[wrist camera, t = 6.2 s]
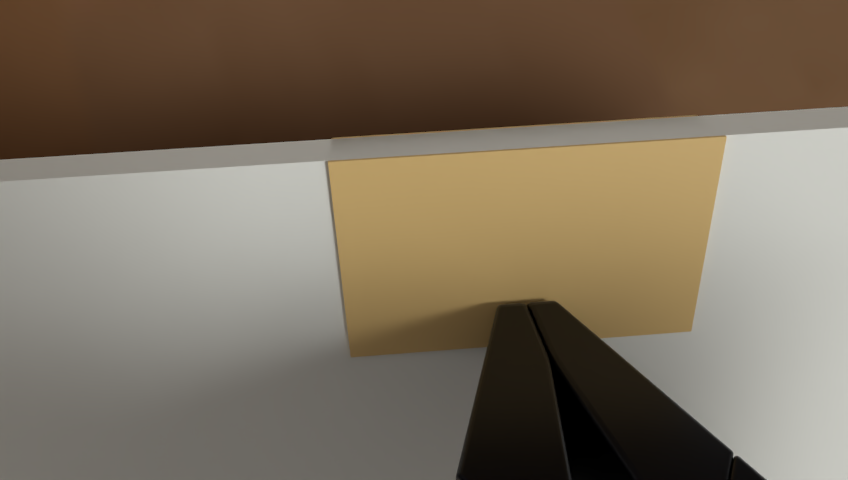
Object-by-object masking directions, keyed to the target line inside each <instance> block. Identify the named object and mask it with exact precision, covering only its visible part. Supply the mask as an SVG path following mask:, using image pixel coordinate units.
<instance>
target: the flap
mask: <svg viewBox="0 0 848 480" xmlns="http://www.w3.org/2000/svg"><path fill="white" fill-rule="evenodd" d="M539 301H556V302H558V303H559V304H560V305H562V306H563V307H564V308H565V309H566V310H567V311H569V312H570V313H571V314H572V315H573V316H574V317H576V318H577V319H578V320H579V321H580V322H582V323H583V324H584V325H585V326H586V327H587V328H589V329H590V330H591V331H592V332H593V333H594V334H596V335H597V336H598V337H599V338H600V339H601V340H603V341H604V342H605V343H606V344H607V345H609V346H610V347H611V348H612V349H613V350H614V351H616V352H617V353H618V354H619V355H620V356H621V357H623V358H624V359H625V360H626V361H627V362H629V363H630V364H631V365H632V366H633V367H634V368H636V369H637V370H638V371H639V372H640V373H641V374H643V375H644V376H645V377H646V378H647V379H649V380H650V381H651V382H652V383H653V384H654V385H656V386H657V387H658V388H659V389H660V390H661V391H663V392H664V393H665V394H666V395H667V396H668V397H670V398H671V399H672V400H673V401H674V402H676V403H677V404H678V405H679V406H680V407H681V408H683V409H684V410H685V411H686V412H687V413H688V414H690V415H691V416H692V417H693V418H694V419H696V420H697V421H698V422H699V423H700V424H701V425H703V426H704V427H705V428H706V429H707V430H708V431H710V432H711V433H712V434H713V435H714V436H716V437H717V438H718V439H719V440H720V441H721V442H723V443H724V444H725V445H726V446H727V447H728V448H730V449H731V450H732V451H733V453H734V456H739V457H741V458H742V459H743V460H744V461H745V462H746V463H748V464H749V465H750V466H751V467H752V468H753V469H755V470H756V471H757V472H758V473H759V474H761V475H762V476H763V477H764V478H765V479H767V480H848V107H835V108H819V109H803V110H787V111H771V112H755V113H739V114H723V115H708V116H697V115H688V116H672V117H656V118H640V119H624V120H608V121H592V122H576V123H560V124H544V125H528V126H512V127H496V128H480V129H464V130H448V131H432V132H416V133H400V134H384V135H368V136H352V137H336V138H332V139H324V140H308V141H292V142H276V143H260V144H244V145H228V146H212V147H196V148H180V149H164V150H148V151H132V152H116V153H100V154H84V155H69V156H53V157H37V158H21V159H5V160H0V480H456V473H457V469H458V465H459V461H460V457H461V453H462V449H463V445H464V440H465V436H466V432H467V428H468V424H469V420H470V416H471V412H472V408H473V403H474V399H475V395H476V391H477V387H478V383H479V379H480V375H481V370H482V366H483V362H484V358H485V354H486V350H487V346H488V342H489V337H490V333H491V329H492V325H493V321H494V317H495V313H496V309H497V307H498V306H499V305H501V304H512V303H524V304H525V305H526V306H527V305H528V304H529V303H530V302H539ZM734 456H733V457H734Z"/></svg>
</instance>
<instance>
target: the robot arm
mask: <svg viewBox="0 0 848 480" xmlns="http://www.w3.org/2000/svg"><path fill="white" fill-rule="evenodd" d="M733 456H734V453H733V451H732V450H731V449H730V448H728V447H727V446H726V445H725V444H724V443H723V442H721V441H720V440H719V439H718V438H717V437H716V436H714V435H713V434H712V433H711V432H710V431H708V430H707V429H706V428H705V427H704V426H703V425H701V424H700V423H699V422H698V421H697V420H696V419H694V418H693V417H692V416H691V415H690V414H688V413H687V412H686V411H685V410H684V409H683V408H681V407H680V406H679V405H678V404H677V403H676V402H674V401H673V400H672V399H671V398H670V397H668V396H667V395H666V394H665V393H664V392H663V391H661V390H660V389H659V388H658V387H657V386H656V385H654V384H653V383H652V382H651V381H650V380H649V379H647V378H646V377H645V376H644V375H643V374H641V373H640V372H639V371H638V370H637V369H636V368H634V367H633V366H632V365H631V364H630V363H629V362H627V361H626V360H625V359H624V358H623V357H621V356H620V355H619V354H618V353H617V352H616V351H614V350H613V349H612V348H611V347H610V346H609V345H607V344H606V343H605V342H604V341H603V340H601V339H600V338H599V337H598V336H597V335H596V334H594V333H593V332H592V331H591V330H590V329H589V328H587V327H586V326H585V325H584V324H583V323H582V322H580V321H579V320H578V319H577V318H576V317H574V316H573V315H572V314H571V313H570V312H569V311H567V310H566V309H565V308H564V307H563V306H562V305H560V304H559V303H558V302H556V301H539V302H530V303H529V304H528V305H527V306H526V305H525V304H524V303H512V304H501V305H499V306H498V307H497V309H496V313H495V317H494V321H493V325H492V329H491V333H490V337H489V342H488V346H487V350H486V354H485V358H484V362H483V366H482V370H481V375H480V379H479V383H478V387H477V391H476V395H475V399H474V403H473V408H472V412H471V416H470V420H469V424H468V428H467V432H466V436H465V440H464V445H463V449H462V453H461V457H460V461H459V465H458V469H457V473H456V480H767V479H765V478H764V477H763V476H762V475H761V474H759V473H758V472H757V471H756V470H755V469H753V468H752V467H751V466H750V465H749V464H748V463H746V462H745V461H744V460H743V459H742V458H741V457H739V456H734V457H733Z"/></svg>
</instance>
